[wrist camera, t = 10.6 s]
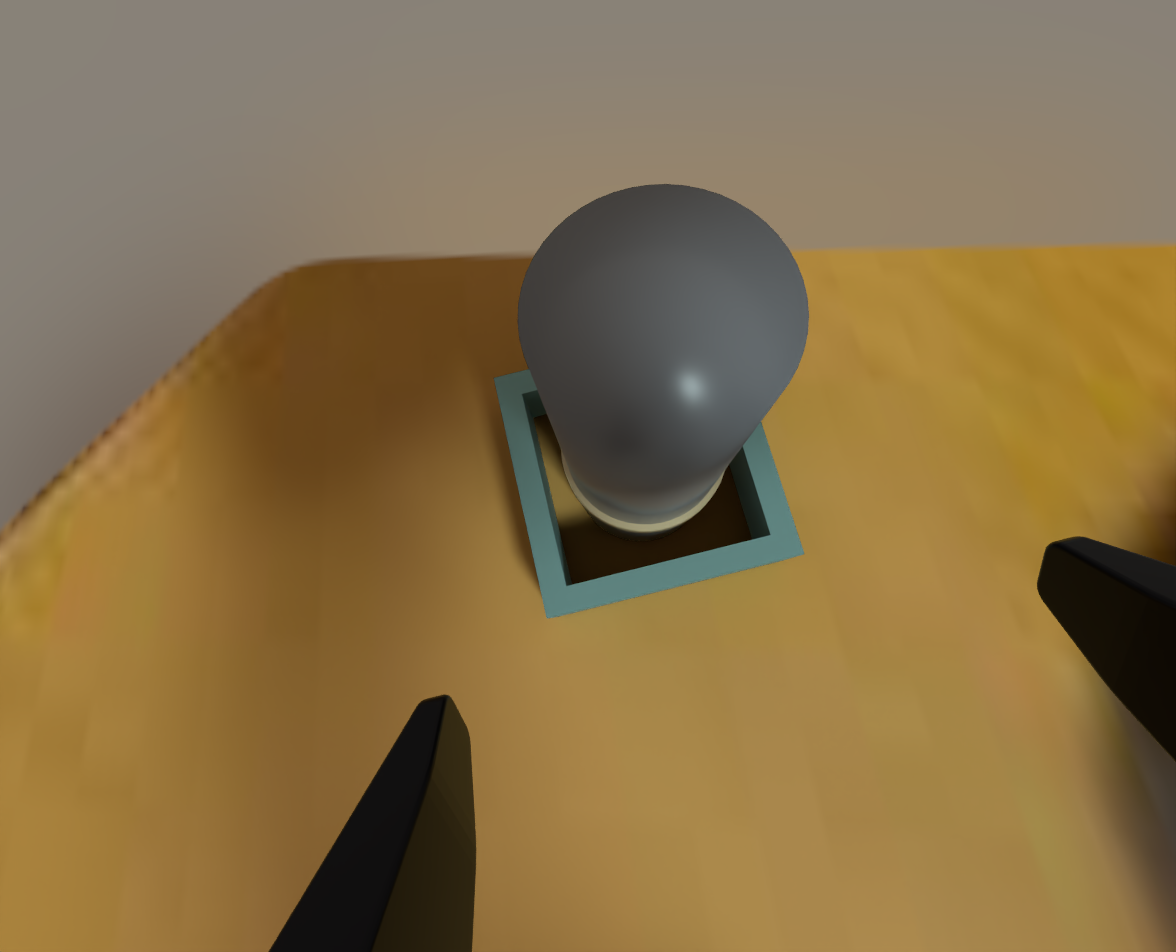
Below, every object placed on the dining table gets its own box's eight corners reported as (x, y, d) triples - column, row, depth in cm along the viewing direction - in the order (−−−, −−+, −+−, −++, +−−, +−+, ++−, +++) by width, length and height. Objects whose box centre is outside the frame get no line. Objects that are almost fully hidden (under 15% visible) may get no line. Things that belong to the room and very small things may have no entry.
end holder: (782, 560, 20) (804, 553, 18) (556, 617, 20) (546, 618, 18) (716, 350, 22) (727, 318, 20) (508, 403, 22) (493, 378, 20)
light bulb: (728, 449, 21) (866, 240, 9) (672, 568, 21) (743, 513, 8) (609, 395, 22) (591, 137, 10) (550, 509, 21) (453, 379, 9)
